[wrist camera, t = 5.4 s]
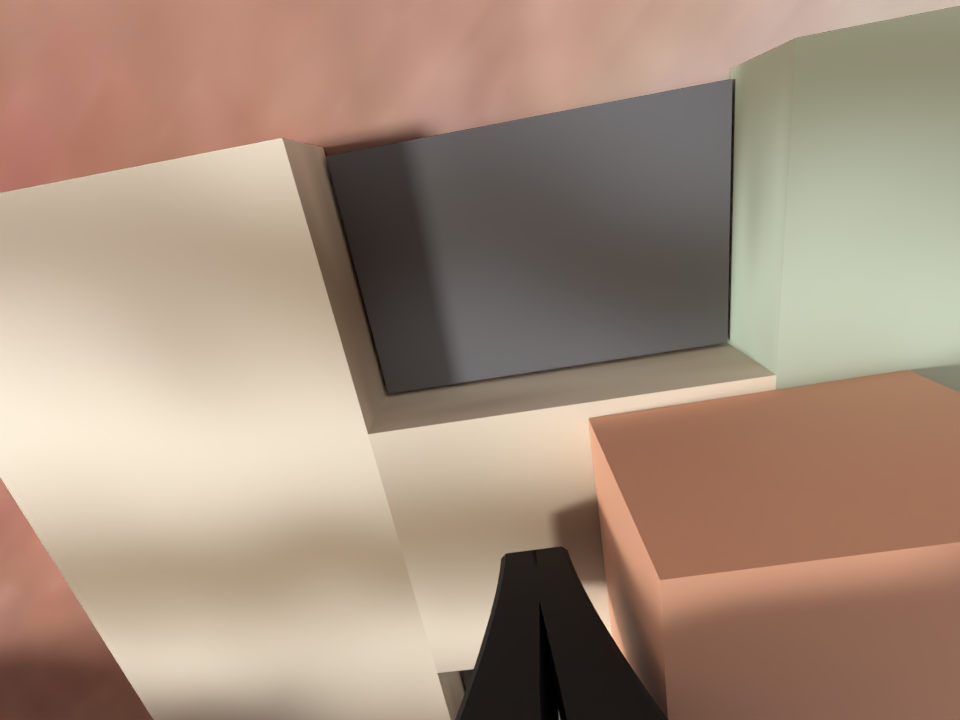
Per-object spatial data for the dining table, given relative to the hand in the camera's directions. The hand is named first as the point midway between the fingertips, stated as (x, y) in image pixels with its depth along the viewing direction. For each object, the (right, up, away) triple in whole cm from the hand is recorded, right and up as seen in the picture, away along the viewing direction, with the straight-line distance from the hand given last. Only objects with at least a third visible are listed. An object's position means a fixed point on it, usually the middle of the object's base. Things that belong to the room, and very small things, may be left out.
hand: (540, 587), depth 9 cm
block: (+4, +1, +1) cm, 5 cm away
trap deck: (+1, +1, +3) cm, 3 cm away
